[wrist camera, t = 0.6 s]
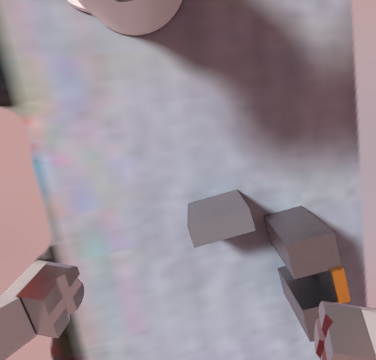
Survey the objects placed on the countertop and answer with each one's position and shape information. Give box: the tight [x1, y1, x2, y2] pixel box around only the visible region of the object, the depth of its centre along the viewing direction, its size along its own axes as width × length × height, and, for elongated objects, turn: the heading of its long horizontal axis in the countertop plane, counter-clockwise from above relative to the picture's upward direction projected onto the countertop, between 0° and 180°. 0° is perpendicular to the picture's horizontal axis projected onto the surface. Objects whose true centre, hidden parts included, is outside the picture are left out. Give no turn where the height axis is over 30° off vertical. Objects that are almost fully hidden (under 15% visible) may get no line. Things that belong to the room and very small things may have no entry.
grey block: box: [188, 190, 256, 248], centre depth 42 cm, size 3×8×10 cm, turn 107°
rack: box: [264, 206, 351, 342], centre depth 43 cm, size 14×6×12 cm, turn 17°
